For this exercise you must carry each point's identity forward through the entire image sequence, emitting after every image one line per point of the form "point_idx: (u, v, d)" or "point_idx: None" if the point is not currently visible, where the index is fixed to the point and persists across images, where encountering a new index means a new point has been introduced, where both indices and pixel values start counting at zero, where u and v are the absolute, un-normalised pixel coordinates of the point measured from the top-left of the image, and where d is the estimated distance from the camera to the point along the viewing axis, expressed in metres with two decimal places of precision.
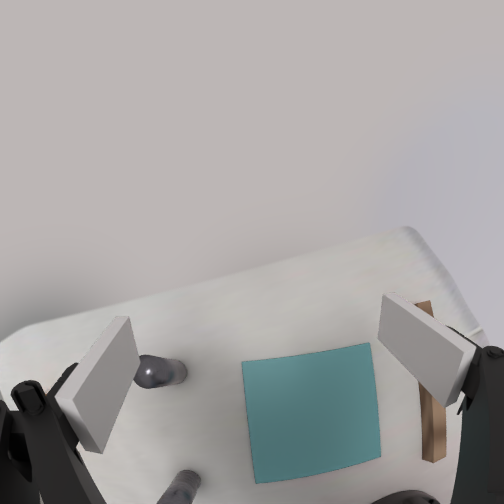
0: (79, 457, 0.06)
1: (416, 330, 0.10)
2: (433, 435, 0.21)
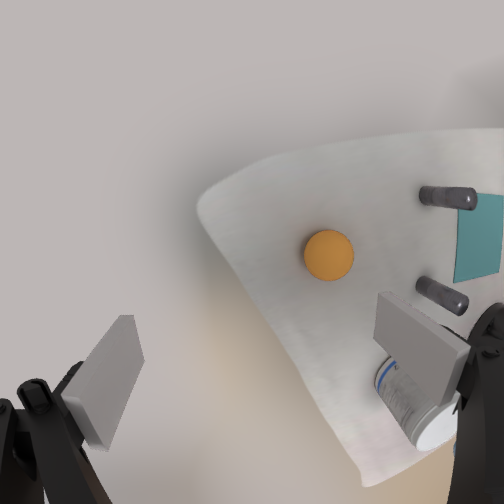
0: (84, 455, 0.06)
1: (411, 329, 0.11)
2: None
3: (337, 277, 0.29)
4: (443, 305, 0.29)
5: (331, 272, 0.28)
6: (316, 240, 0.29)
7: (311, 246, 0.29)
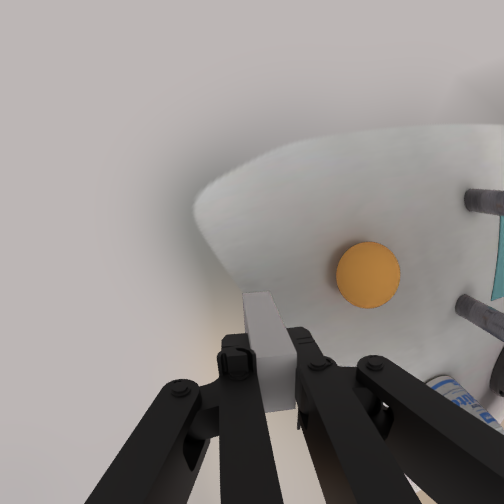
0: None
1: None
2: None
3: (380, 304, 0.21)
4: (489, 331, 0.21)
5: (374, 299, 0.20)
6: (355, 256, 0.21)
7: (348, 263, 0.21)
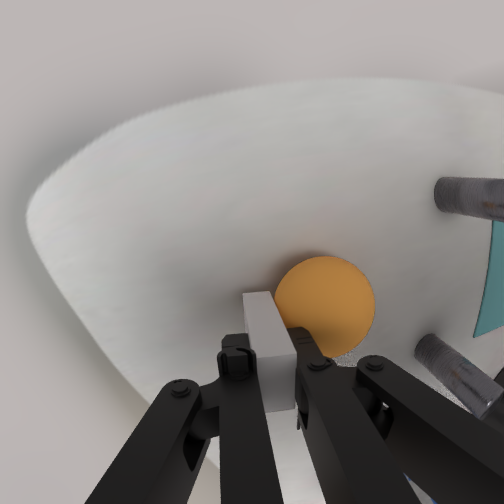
0: None
1: None
2: None
3: None
4: (459, 398, 0.13)
5: None
6: (347, 282, 0.12)
7: (346, 297, 0.12)
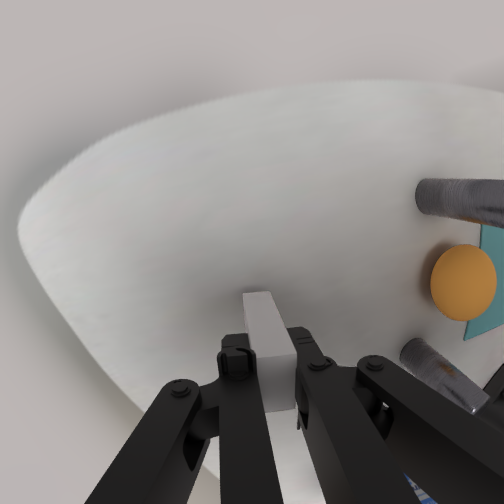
0: None
1: None
2: None
3: (473, 318, 0.15)
4: None
5: (469, 311, 0.14)
6: (454, 260, 0.15)
7: (447, 268, 0.15)
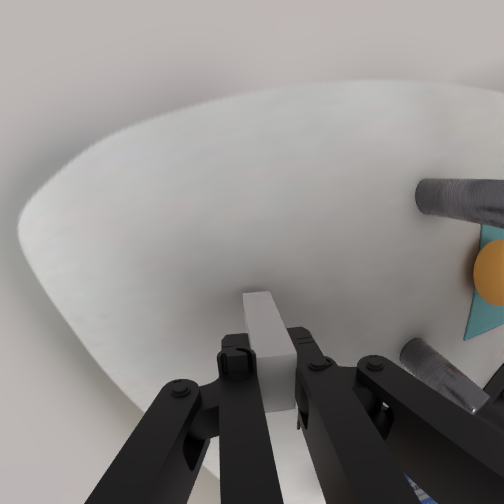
0: None
1: None
2: None
3: None
4: None
5: None
6: None
7: None
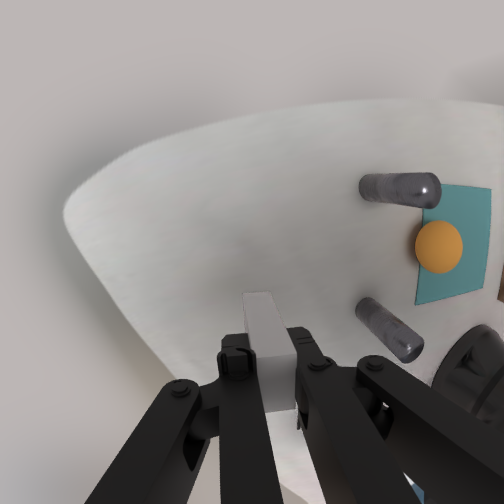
0: None
1: None
2: None
3: None
4: (386, 345, 0.22)
5: None
6: (456, 229, 0.23)
7: (459, 236, 0.22)
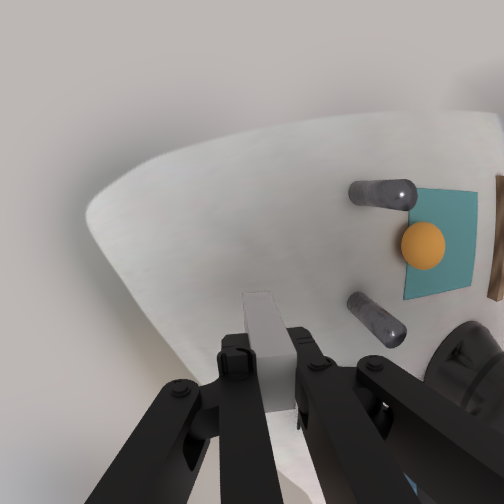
0: None
1: None
2: (501, 278, 0.31)
3: None
4: (372, 332, 0.25)
5: None
6: (438, 230, 0.26)
7: (441, 235, 0.26)
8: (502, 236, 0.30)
